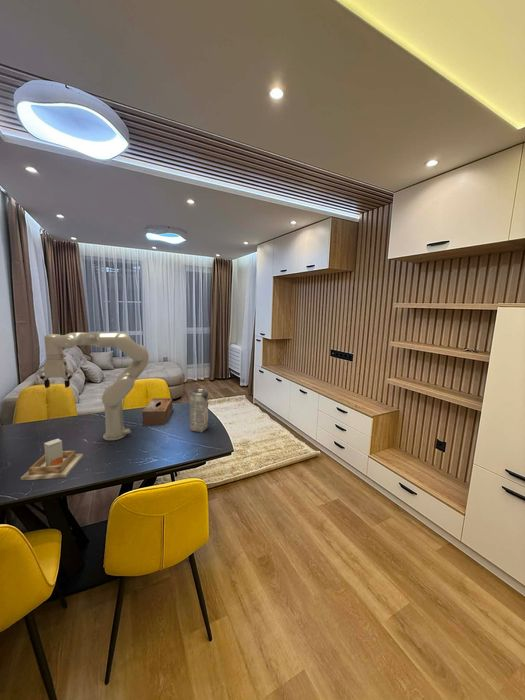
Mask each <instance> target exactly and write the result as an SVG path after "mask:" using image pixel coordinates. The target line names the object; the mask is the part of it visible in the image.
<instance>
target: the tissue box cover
mask: <svg viewBox="0 0 525 700" xmlns="http://www.w3.org/2000/svg"><path fill="white" fill-rule="evenodd" d="M144 407H145V408H143V410H142V412H141V413H142V415H141V416H142V426H165V425H166V424H167V422H168V420H169V418H170V416H171V414H172V413H173V410H174V409H173V397H158V398H157V397H156V398H155V397H154V398H153V397H152V398H151V399H150V401H149V402H148V403H147V405H146V406H144Z"/></svg>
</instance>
